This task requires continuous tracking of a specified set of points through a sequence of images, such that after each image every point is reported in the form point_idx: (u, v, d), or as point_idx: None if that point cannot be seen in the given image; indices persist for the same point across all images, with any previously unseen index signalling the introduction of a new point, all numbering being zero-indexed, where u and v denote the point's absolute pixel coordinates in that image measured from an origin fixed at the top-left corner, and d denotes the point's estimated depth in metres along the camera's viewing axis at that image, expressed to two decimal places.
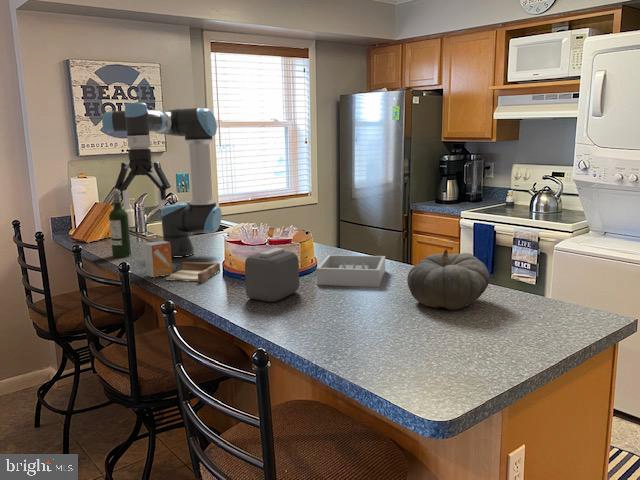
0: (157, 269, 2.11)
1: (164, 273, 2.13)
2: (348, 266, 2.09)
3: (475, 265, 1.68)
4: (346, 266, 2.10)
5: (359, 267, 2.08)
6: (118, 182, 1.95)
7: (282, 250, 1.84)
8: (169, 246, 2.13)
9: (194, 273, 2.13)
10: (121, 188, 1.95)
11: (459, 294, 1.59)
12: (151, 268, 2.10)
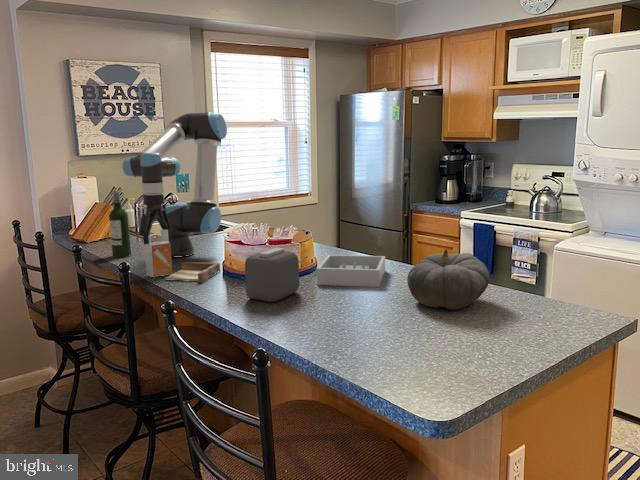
0: (157, 269, 2.11)
1: (164, 273, 2.13)
2: (348, 266, 2.09)
3: (475, 265, 1.68)
4: (346, 266, 2.09)
5: (359, 267, 2.07)
6: None
7: (282, 250, 1.84)
8: (169, 246, 2.13)
9: (194, 273, 2.13)
10: None
11: (459, 294, 1.59)
12: (151, 268, 2.10)
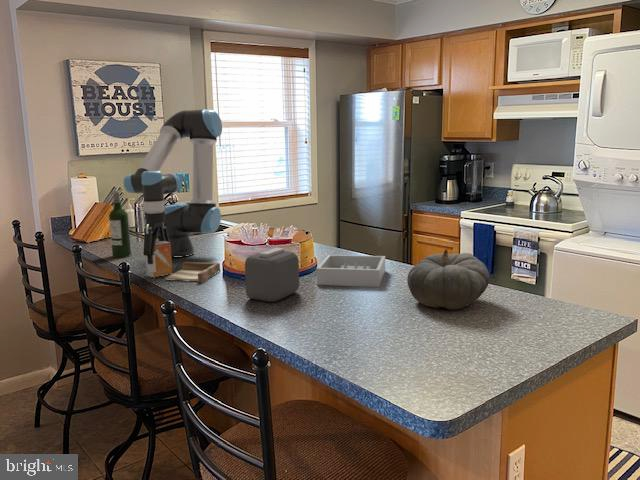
0: (157, 269, 2.11)
1: (164, 273, 2.13)
2: (350, 267, 2.08)
3: (475, 265, 1.68)
4: (348, 267, 2.08)
5: (361, 268, 2.07)
6: None
7: (282, 250, 1.84)
8: (169, 246, 2.13)
9: (194, 273, 2.13)
10: None
11: (459, 294, 1.59)
12: None
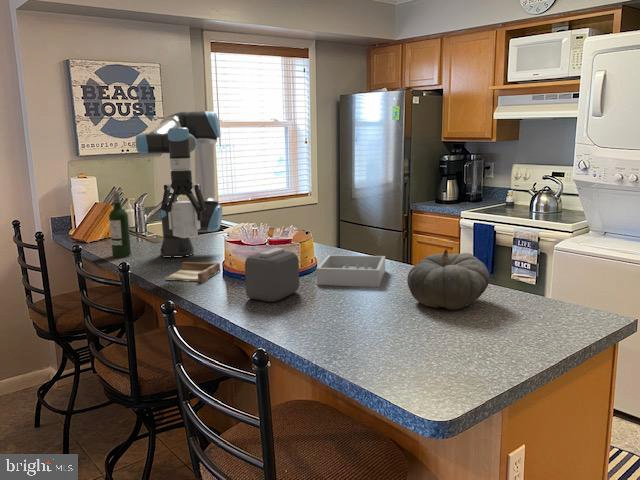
0: None
1: None
2: (351, 268, 2.07)
3: (475, 265, 1.68)
4: (349, 267, 2.07)
5: None
6: (163, 204, 2.07)
7: (282, 250, 1.84)
8: None
9: (194, 273, 2.13)
10: (167, 209, 2.08)
11: (459, 294, 1.59)
12: (194, 226, 2.07)
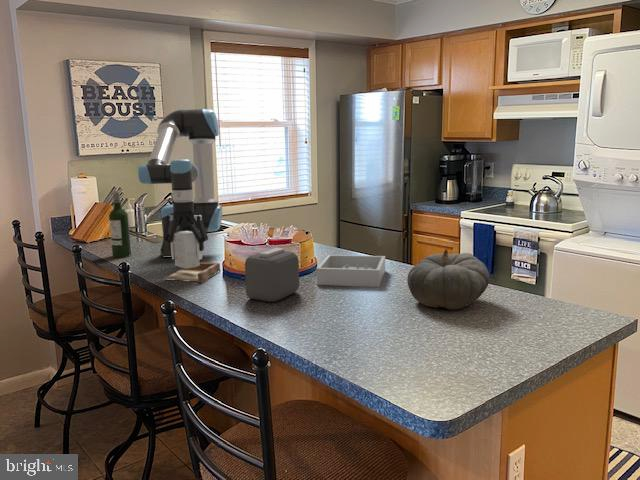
0: None
1: None
2: (351, 268, 2.07)
3: (475, 265, 1.68)
4: (349, 268, 2.07)
5: None
6: (166, 234, 2.10)
7: (282, 250, 1.84)
8: None
9: (194, 273, 2.13)
10: (169, 240, 2.10)
11: (459, 294, 1.59)
12: (196, 256, 2.09)
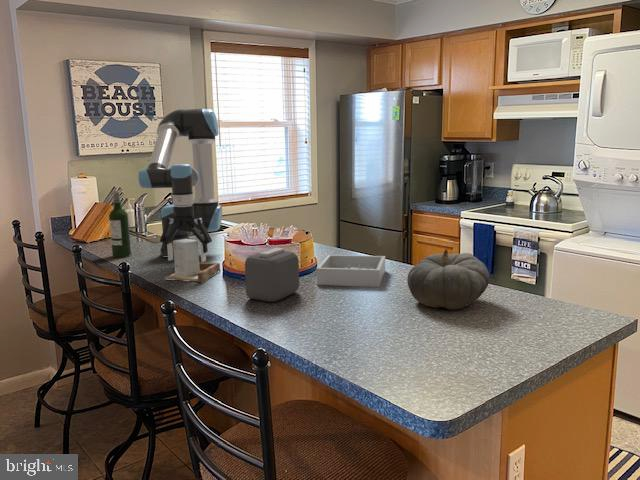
0: None
1: None
2: (353, 268, 2.06)
3: (475, 265, 1.68)
4: (351, 268, 2.06)
5: None
6: (163, 236, 2.10)
7: (282, 250, 1.84)
8: None
9: None
10: (166, 242, 2.10)
11: (459, 294, 1.59)
12: (196, 264, 2.10)
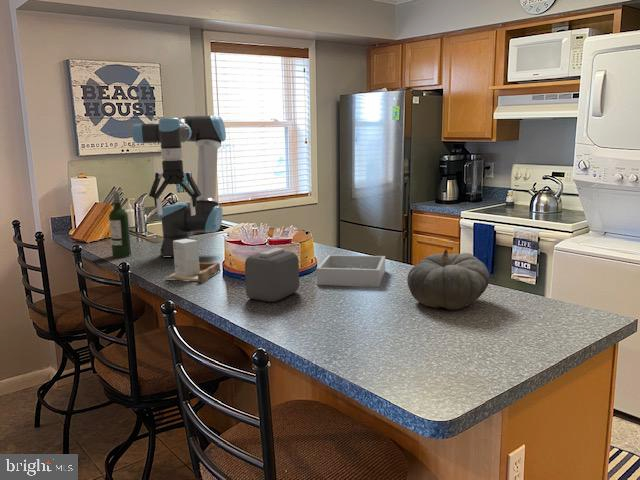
0: None
1: None
2: None
3: (475, 265, 1.68)
4: None
5: None
6: (152, 191, 2.11)
7: (282, 250, 1.84)
8: None
9: None
10: (155, 196, 2.11)
11: (459, 294, 1.59)
12: (196, 264, 2.10)
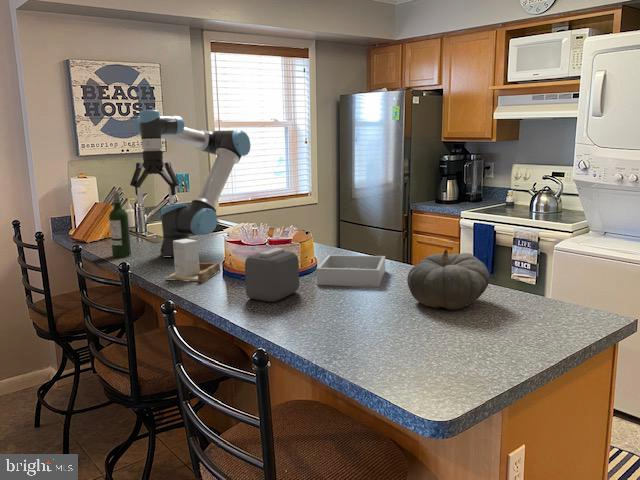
0: None
1: None
2: None
3: (475, 265, 1.68)
4: None
5: None
6: (133, 180, 2.20)
7: (282, 250, 1.84)
8: None
9: None
10: (136, 185, 2.20)
11: (459, 294, 1.59)
12: (196, 264, 2.10)
